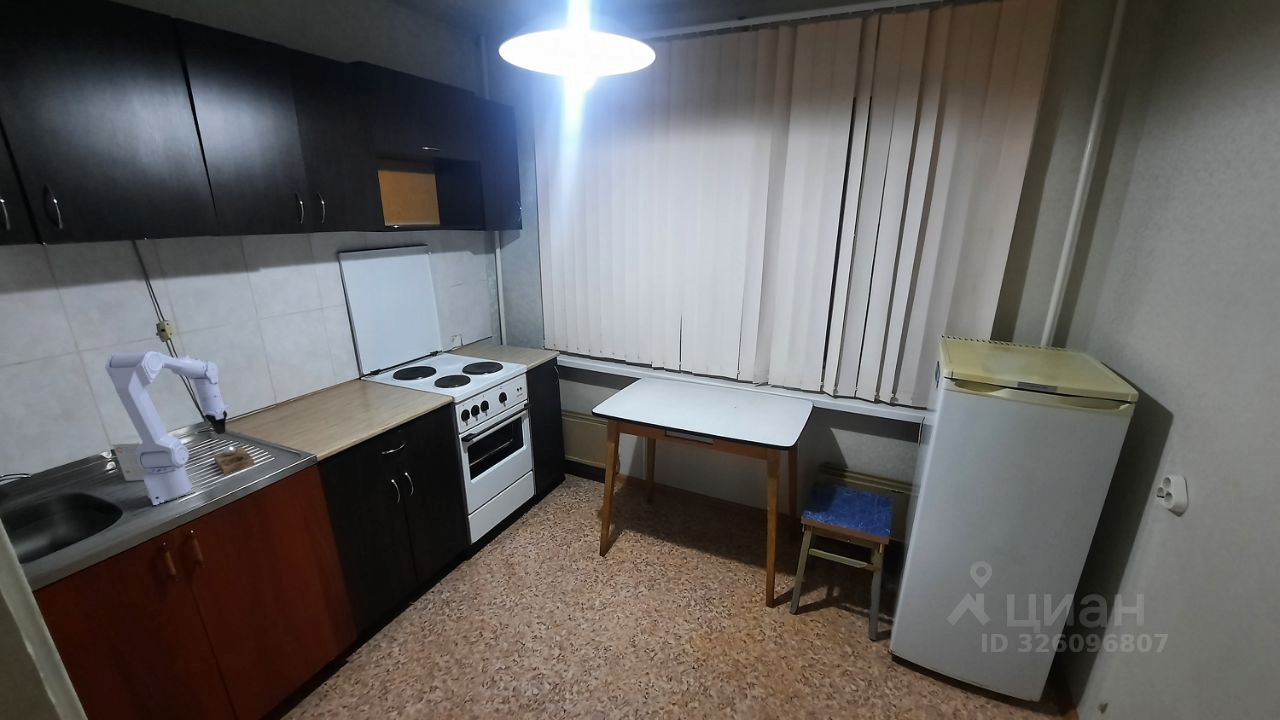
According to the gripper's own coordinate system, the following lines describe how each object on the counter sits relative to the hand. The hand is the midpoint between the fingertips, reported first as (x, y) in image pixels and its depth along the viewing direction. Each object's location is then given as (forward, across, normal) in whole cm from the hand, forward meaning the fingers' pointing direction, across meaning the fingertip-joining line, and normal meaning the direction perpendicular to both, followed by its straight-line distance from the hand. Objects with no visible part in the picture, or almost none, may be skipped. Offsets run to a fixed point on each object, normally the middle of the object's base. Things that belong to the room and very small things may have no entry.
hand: (221, 433), depth 170 cm
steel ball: (+4, -7, 0) cm, 8 cm away
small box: (+9, +4, +20) cm, 22 cm away
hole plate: (+8, -10, 0) cm, 13 cm away
